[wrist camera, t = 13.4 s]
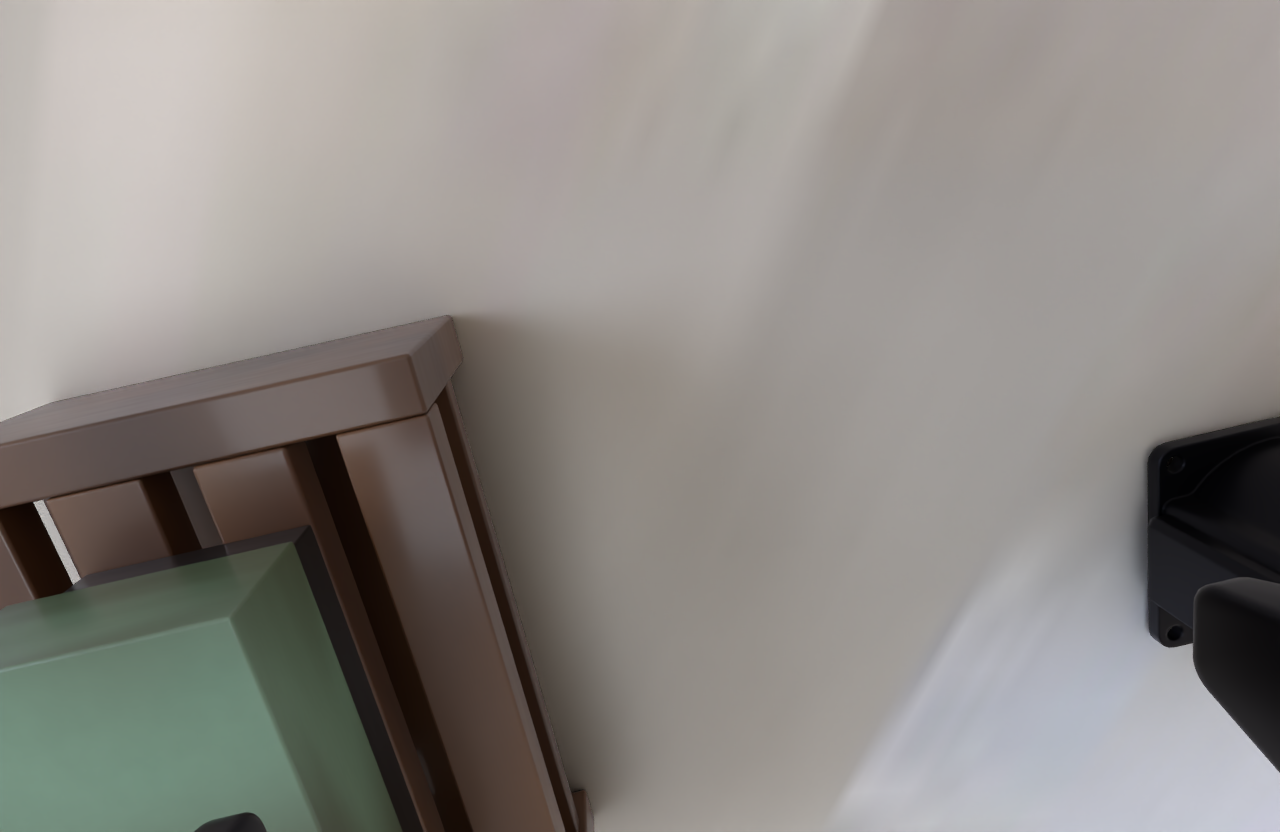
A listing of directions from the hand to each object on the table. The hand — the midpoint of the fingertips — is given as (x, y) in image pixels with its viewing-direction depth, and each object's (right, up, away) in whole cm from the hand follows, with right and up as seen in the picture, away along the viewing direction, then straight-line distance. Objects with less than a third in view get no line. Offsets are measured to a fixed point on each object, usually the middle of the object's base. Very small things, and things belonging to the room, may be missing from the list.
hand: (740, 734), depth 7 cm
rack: (-9, -3, +14) cm, 17 cm away
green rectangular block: (-8, -4, +9) cm, 13 cm away
